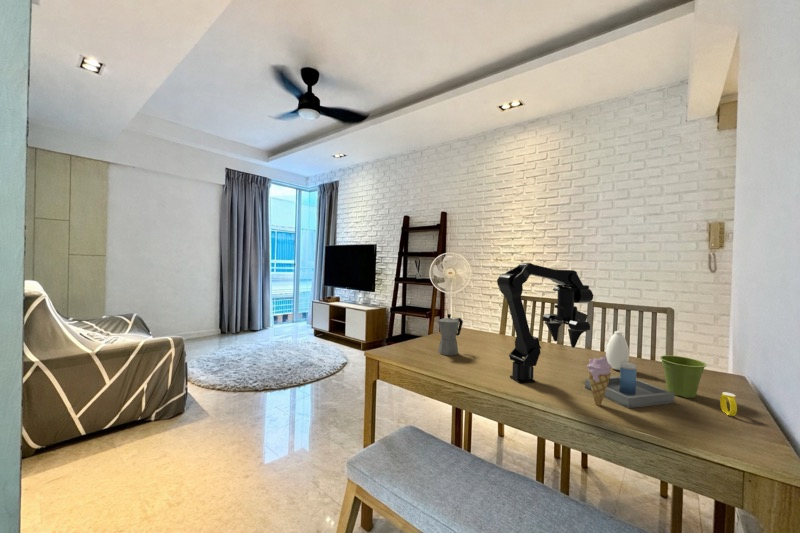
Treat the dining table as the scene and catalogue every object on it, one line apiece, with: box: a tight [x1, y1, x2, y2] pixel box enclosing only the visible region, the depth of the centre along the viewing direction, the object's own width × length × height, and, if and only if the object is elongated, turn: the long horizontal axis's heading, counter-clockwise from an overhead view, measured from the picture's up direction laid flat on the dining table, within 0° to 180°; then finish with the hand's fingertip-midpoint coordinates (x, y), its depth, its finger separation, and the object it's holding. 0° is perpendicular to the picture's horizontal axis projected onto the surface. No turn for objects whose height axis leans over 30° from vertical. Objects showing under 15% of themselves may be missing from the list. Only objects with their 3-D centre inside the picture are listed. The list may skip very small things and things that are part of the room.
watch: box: [719, 391, 738, 417], centre depth 96 cm, size 6×3×6 cm, turn 157°
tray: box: [584, 375, 676, 409], centre depth 108 cm, size 18×16×3 cm
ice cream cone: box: [586, 355, 612, 407], centre depth 100 cm, size 7×6×15 cm
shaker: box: [619, 361, 638, 395], centre depth 108 cm, size 4×4×9 cm
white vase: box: [605, 325, 630, 371], centre depth 134 cm, size 8×8×18 cm
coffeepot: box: [437, 313, 464, 356], centre depth 153 cm, size 15×9×18 cm, turn 126°
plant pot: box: [659, 354, 708, 399], centre depth 110 cm, size 12×12×11 cm
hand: (564, 344), depth 125 cm, fingers open, 9 cm apart
